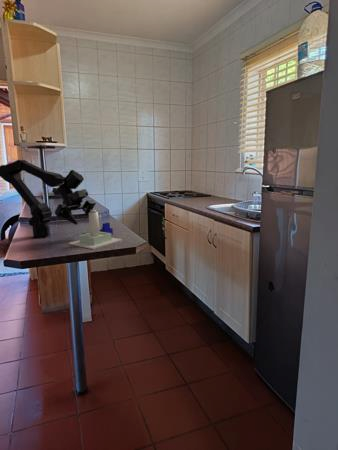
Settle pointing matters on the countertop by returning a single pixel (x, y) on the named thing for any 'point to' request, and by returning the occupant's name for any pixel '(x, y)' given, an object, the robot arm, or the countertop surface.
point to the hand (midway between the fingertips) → (85, 222)
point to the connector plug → (94, 224)
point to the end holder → (95, 241)
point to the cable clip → (107, 228)
